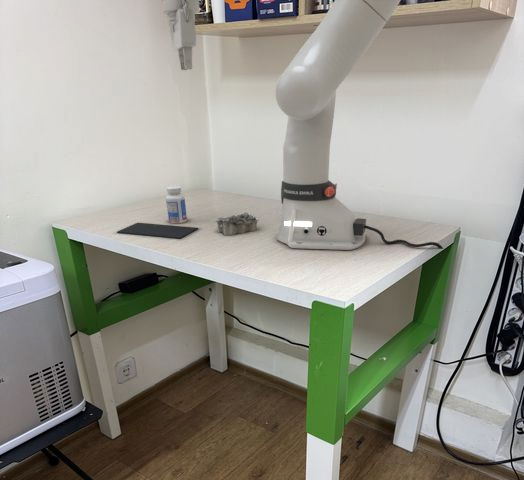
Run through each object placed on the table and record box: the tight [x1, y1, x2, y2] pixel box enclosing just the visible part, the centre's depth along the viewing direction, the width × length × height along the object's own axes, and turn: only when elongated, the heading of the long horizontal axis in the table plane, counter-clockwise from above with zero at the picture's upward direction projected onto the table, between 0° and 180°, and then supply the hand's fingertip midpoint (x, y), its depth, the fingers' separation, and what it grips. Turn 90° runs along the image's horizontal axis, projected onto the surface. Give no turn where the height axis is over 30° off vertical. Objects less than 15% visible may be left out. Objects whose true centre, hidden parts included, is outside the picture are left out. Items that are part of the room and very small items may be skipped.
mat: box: [116, 222, 199, 240], centre depth 133 cm, size 20×10×1 cm, turn 69°
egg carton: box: [214, 211, 260, 236], centre depth 131 cm, size 11×8×4 cm
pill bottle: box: [165, 185, 188, 224], centre depth 140 cm, size 6×5×10 cm
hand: (186, 69), depth 123 cm, fingers open, 8 cm apart
